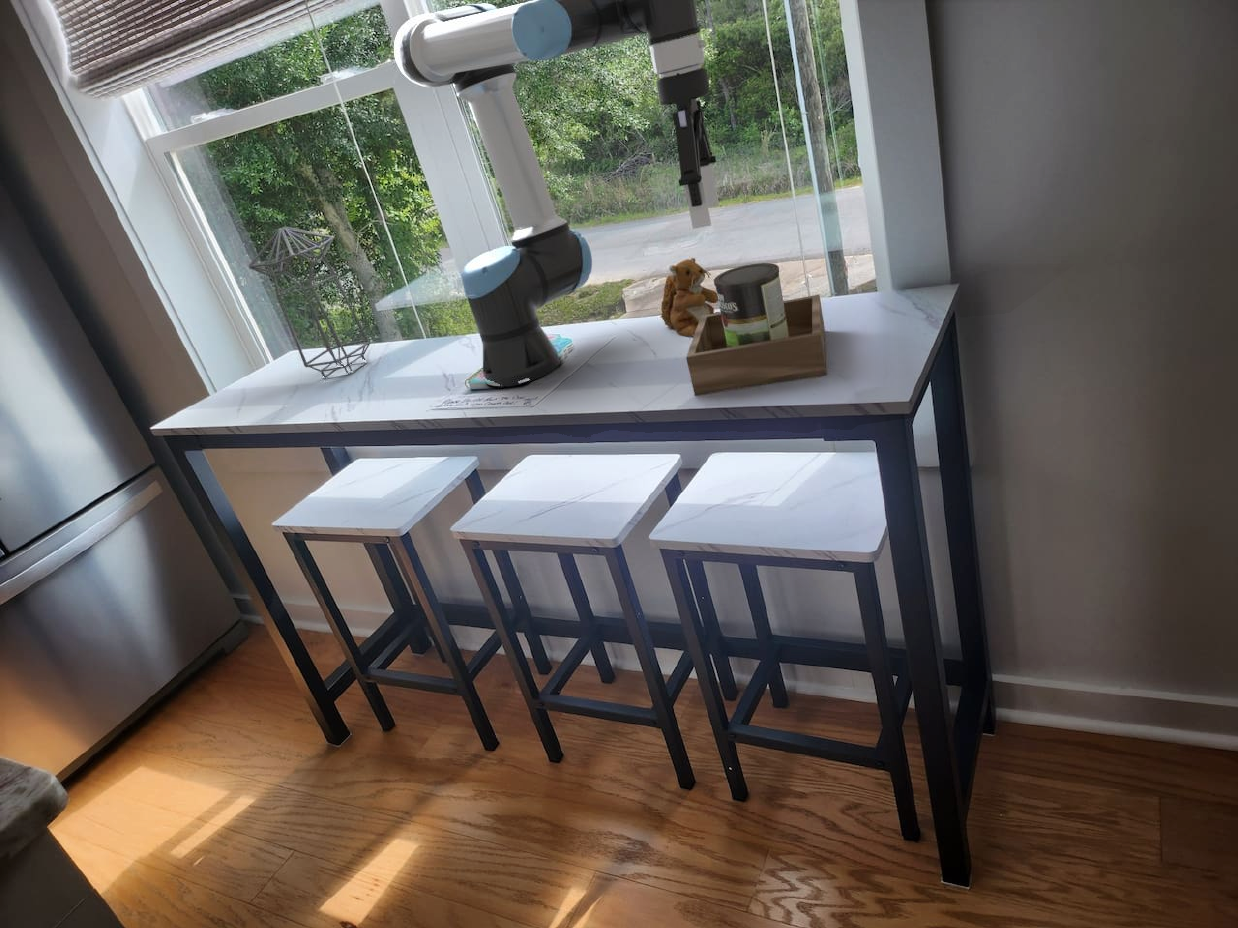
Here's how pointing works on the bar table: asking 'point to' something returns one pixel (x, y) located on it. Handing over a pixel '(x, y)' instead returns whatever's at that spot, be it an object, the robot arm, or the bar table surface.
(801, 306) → the walnut box
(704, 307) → the stuffed squirrel
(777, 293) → the coffee can
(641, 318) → the bar table surface
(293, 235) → the geometric lantern
